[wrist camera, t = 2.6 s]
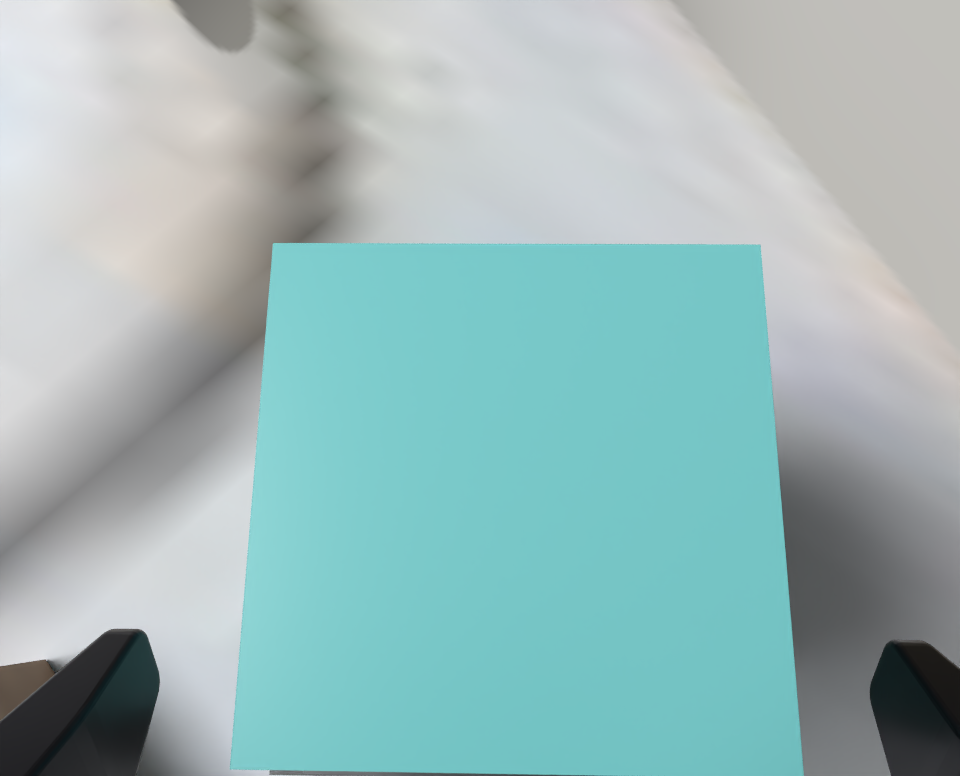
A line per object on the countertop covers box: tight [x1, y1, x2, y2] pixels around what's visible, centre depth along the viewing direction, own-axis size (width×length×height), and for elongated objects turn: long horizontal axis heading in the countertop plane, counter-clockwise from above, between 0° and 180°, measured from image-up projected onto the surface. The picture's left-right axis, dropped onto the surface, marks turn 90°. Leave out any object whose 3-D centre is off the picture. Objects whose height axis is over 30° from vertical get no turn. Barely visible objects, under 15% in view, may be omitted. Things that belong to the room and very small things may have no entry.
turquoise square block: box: [230, 243, 804, 776], centre depth 12 cm, size 6×6×7 cm
